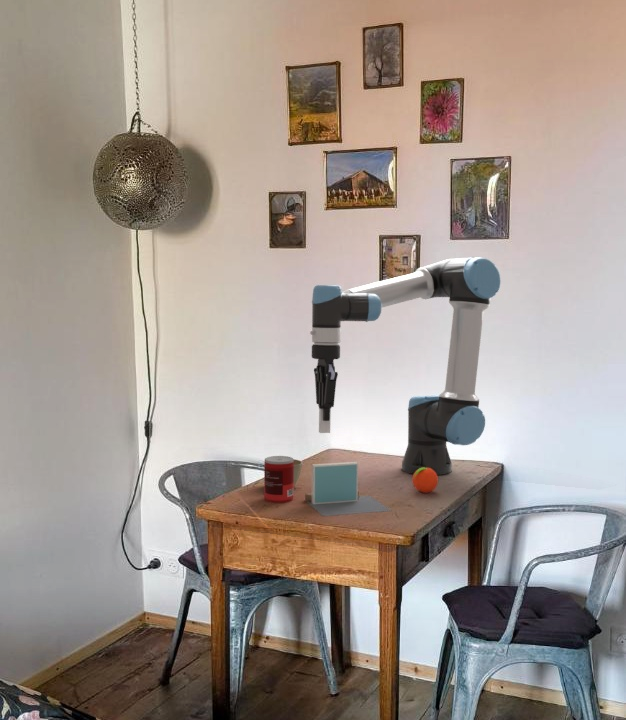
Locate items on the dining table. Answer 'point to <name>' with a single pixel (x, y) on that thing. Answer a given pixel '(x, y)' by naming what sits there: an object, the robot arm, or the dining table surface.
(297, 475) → the flower pot
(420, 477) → the clementine
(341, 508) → the mat
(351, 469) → the tile
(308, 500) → the strip
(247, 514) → the dining table surface
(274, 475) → the canned food
